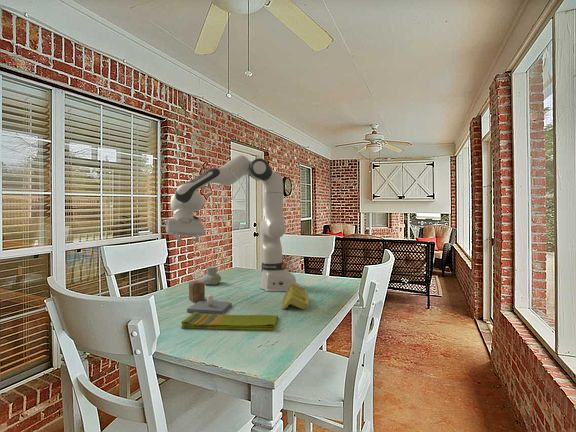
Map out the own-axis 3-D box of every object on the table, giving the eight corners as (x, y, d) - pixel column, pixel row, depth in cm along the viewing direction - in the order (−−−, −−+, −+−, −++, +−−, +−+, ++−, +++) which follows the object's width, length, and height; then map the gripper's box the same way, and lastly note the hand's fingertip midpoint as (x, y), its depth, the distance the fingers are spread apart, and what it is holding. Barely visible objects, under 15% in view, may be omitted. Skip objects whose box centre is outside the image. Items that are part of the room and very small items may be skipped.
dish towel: (194, 316, 143) (194, 308, 142) (278, 318, 140) (278, 310, 139) (180, 330, 127) (179, 321, 127) (273, 333, 124) (273, 324, 124)
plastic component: (309, 305, 148) (288, 295, 148) (302, 319, 149) (281, 310, 149) (307, 290, 168) (289, 281, 167) (300, 303, 169) (283, 294, 168)
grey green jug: (215, 281, 204) (215, 264, 203) (223, 283, 198) (223, 266, 198) (199, 284, 196) (199, 267, 196) (207, 286, 190) (207, 269, 190)
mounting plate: (231, 305, 155) (231, 292, 155) (222, 314, 143) (221, 299, 143) (199, 304, 158) (199, 290, 158) (187, 312, 146) (186, 297, 146)
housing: (200, 297, 168) (200, 279, 168) (204, 300, 164) (204, 282, 163) (189, 299, 165) (188, 281, 165) (192, 302, 160) (192, 283, 160)
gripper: (166, 214, 170) (171, 236, 163) (202, 218, 184) (208, 238, 177) (161, 221, 174) (166, 244, 167) (197, 224, 187) (203, 245, 181)
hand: (188, 241), depth 172 cm, fingers open, 8 cm apart
